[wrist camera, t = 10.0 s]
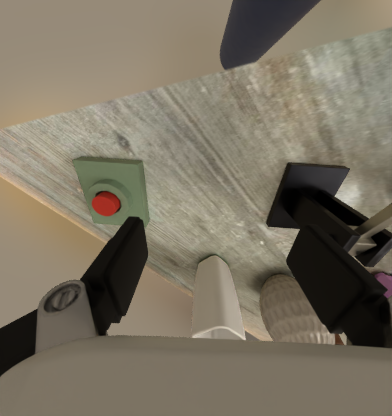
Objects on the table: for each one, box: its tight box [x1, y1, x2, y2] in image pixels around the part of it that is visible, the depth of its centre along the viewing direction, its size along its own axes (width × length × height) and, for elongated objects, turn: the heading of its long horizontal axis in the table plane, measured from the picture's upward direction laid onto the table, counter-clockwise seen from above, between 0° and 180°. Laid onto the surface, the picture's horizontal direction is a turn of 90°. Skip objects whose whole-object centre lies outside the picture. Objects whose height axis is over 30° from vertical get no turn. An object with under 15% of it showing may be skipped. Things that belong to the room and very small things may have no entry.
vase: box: [260, 274, 335, 345], centre depth 33 cm, size 13×13×17 cm
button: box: [92, 191, 120, 216], centre depth 25 cm, size 4×4×2 cm
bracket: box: [266, 163, 392, 267], centre depth 23 cm, size 12×9×13 cm
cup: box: [191, 256, 246, 340], centre depth 32 cm, size 7×7×15 cm
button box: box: [72, 157, 149, 227], centre depth 27 cm, size 12×10×4 cm
